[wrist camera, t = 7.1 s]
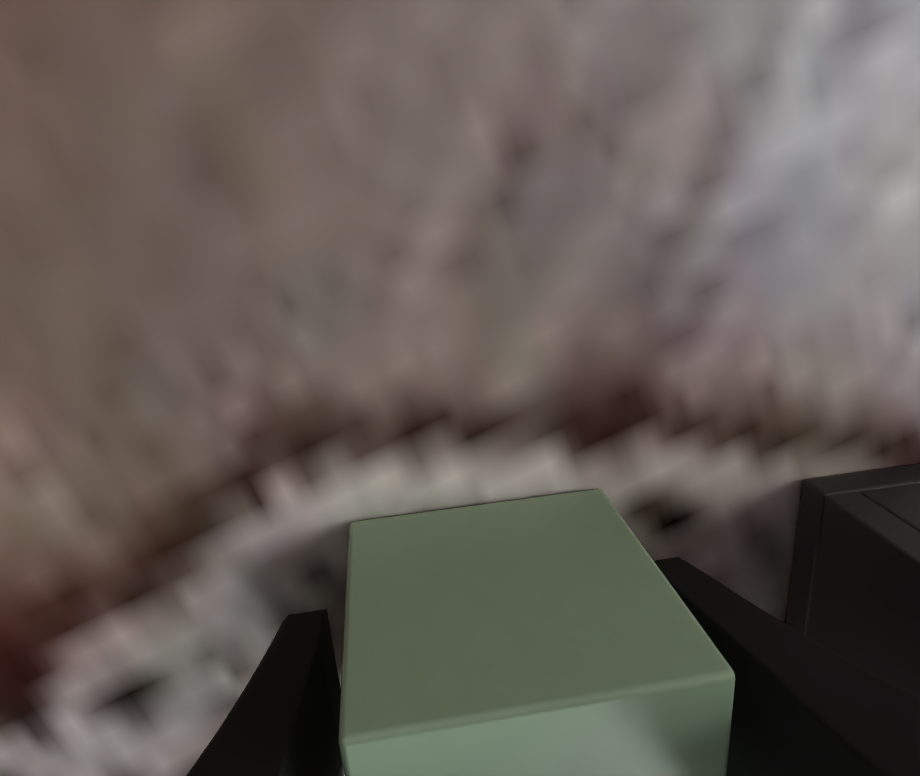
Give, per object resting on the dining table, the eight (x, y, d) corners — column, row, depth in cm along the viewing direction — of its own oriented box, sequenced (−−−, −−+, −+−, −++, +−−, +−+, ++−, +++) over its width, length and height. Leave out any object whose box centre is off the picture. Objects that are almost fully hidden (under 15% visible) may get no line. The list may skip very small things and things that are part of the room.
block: (378, 720, 12) (384, 1004, 8) (348, 520, 10) (337, 741, 6) (601, 683, 12) (714, 933, 8) (601, 486, 11) (739, 674, 7)
